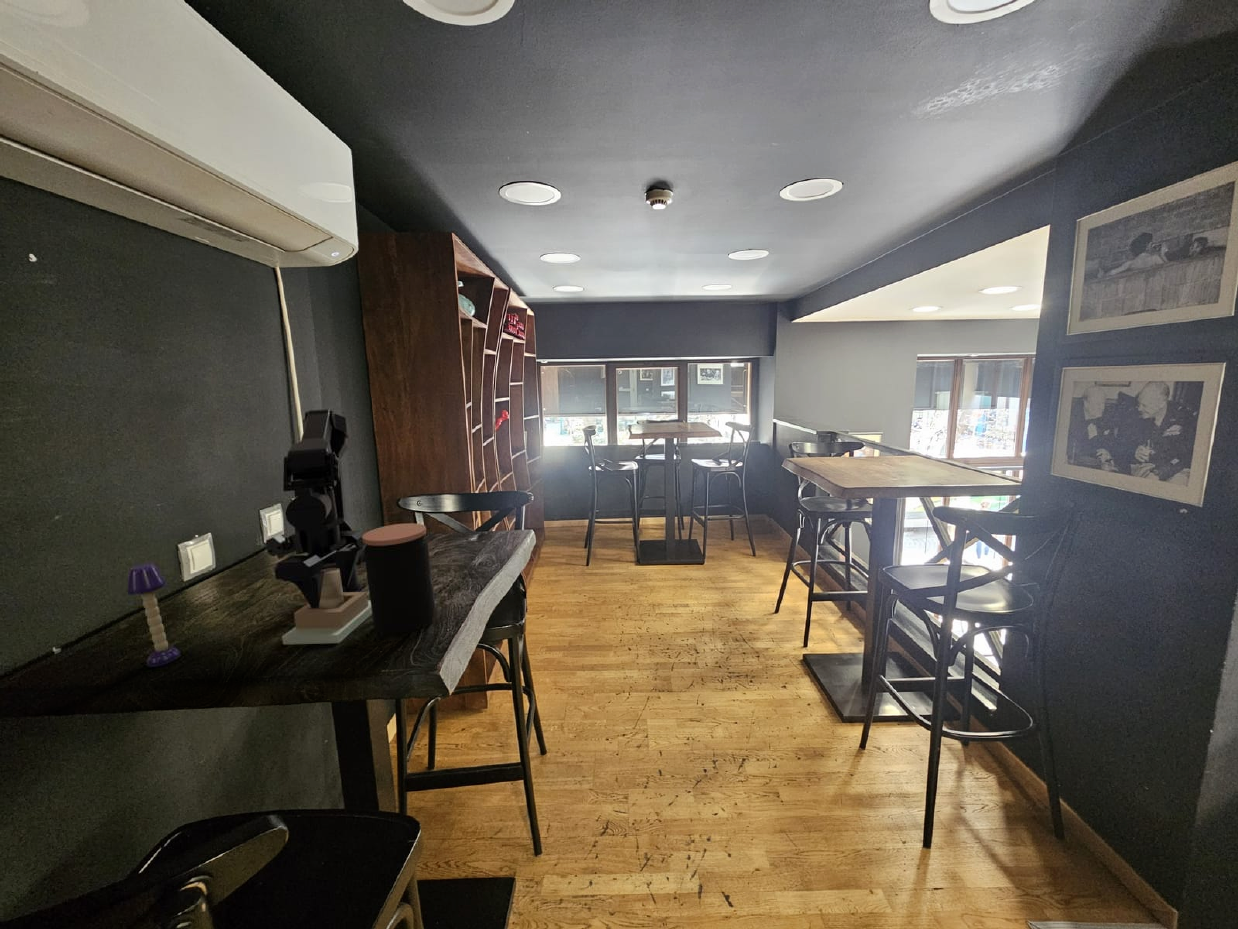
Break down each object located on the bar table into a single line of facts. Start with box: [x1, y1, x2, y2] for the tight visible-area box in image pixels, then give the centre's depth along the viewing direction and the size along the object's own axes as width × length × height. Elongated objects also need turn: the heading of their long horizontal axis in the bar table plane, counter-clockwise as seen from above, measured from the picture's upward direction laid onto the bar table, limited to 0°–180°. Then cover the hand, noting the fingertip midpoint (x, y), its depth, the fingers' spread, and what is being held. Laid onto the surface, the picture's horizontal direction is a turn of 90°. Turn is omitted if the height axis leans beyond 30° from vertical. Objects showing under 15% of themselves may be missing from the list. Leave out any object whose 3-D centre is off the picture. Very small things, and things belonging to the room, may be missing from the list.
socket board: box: [281, 591, 372, 645], centre depth 92 cm, size 14×10×4 cm
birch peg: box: [319, 568, 344, 609], centre depth 92 cm, size 4×4×9 cm
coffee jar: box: [362, 522, 436, 637], centre depth 90 cm, size 11×11×18 cm
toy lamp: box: [126, 562, 181, 668], centre depth 81 cm, size 5×5×17 cm
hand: (330, 596), depth 92 cm, fingers open, 9 cm apart
